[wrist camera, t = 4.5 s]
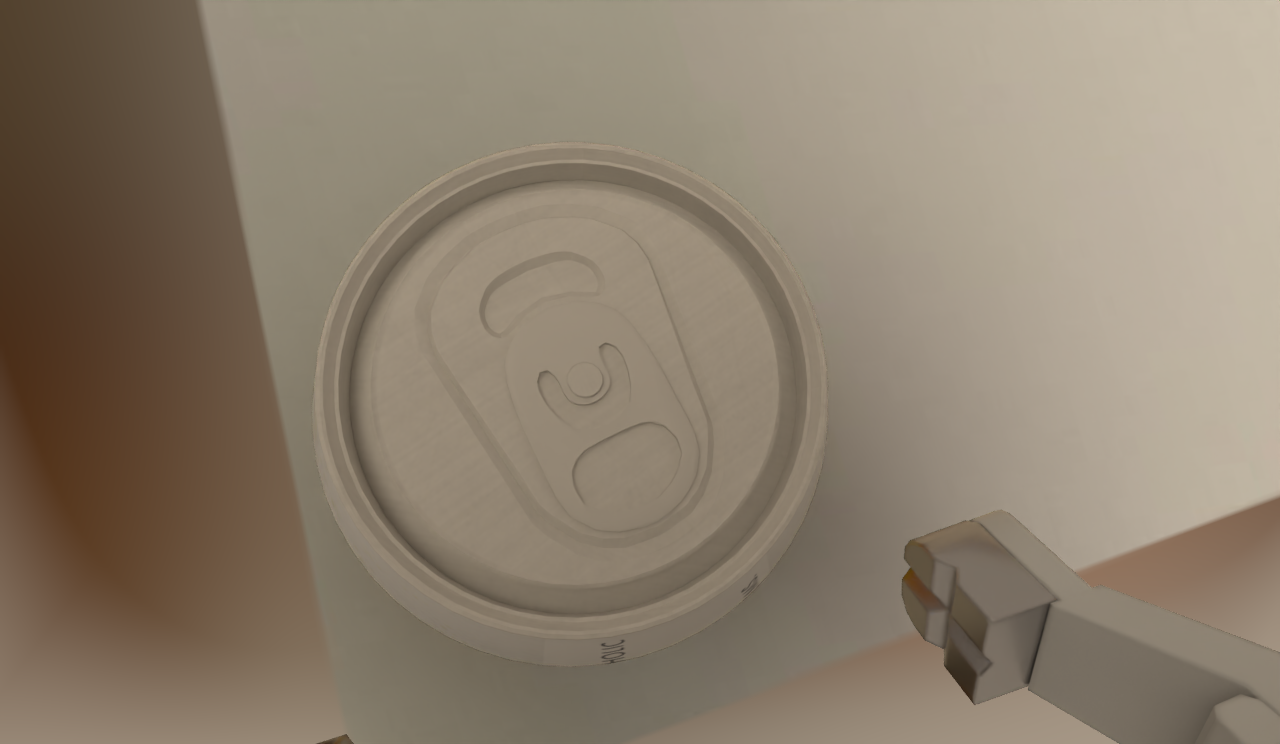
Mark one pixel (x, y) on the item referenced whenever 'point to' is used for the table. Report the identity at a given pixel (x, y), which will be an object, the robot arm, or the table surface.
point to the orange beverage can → (570, 404)
